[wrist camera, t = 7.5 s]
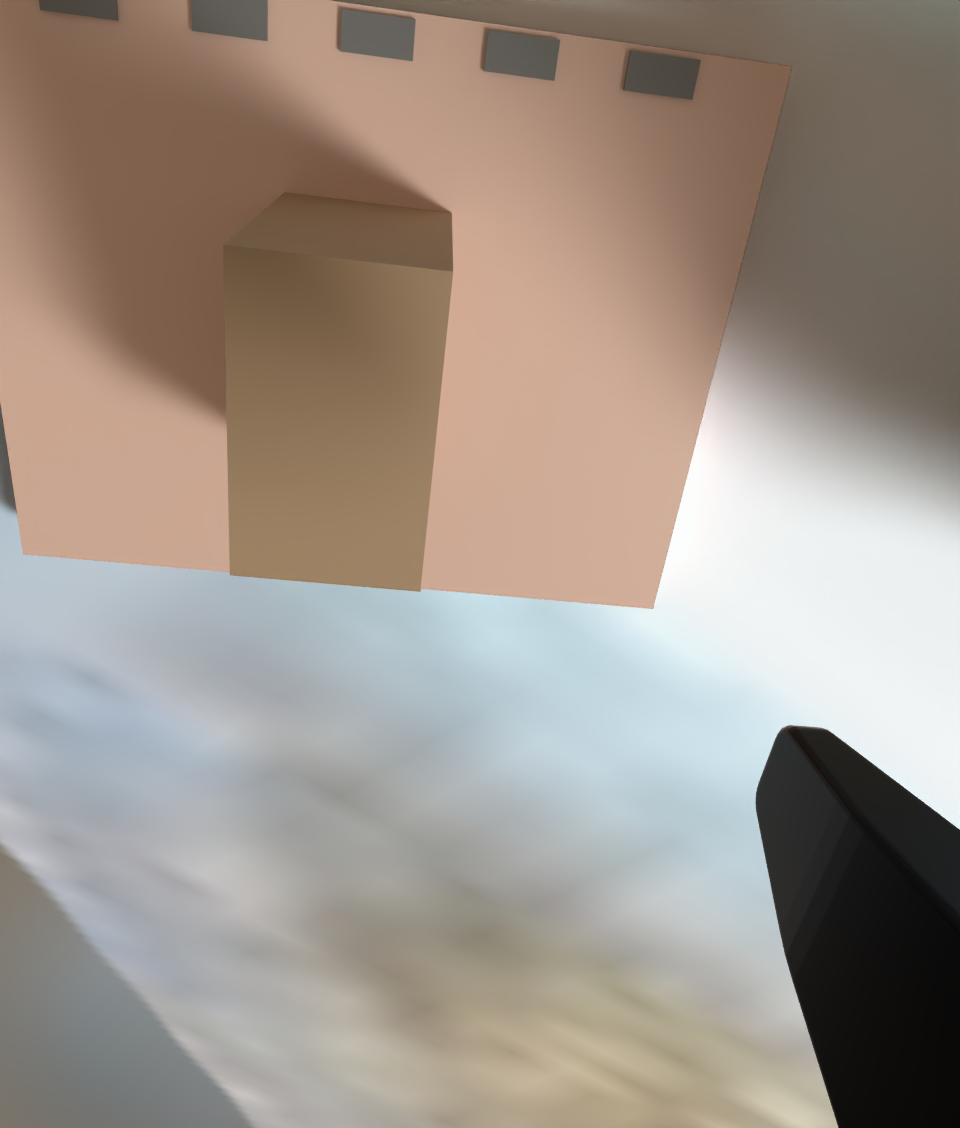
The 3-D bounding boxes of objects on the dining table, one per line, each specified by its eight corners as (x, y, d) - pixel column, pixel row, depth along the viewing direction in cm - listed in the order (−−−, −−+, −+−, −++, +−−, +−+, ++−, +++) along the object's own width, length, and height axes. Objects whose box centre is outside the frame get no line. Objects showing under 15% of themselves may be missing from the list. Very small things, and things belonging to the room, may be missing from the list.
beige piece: (770, 65, 16) (930, 71, 11) (643, 581, 22) (707, 757, 16) (-33, -49, 15) (-303, -105, 10) (44, 528, 20) (-100, 698, 15)
